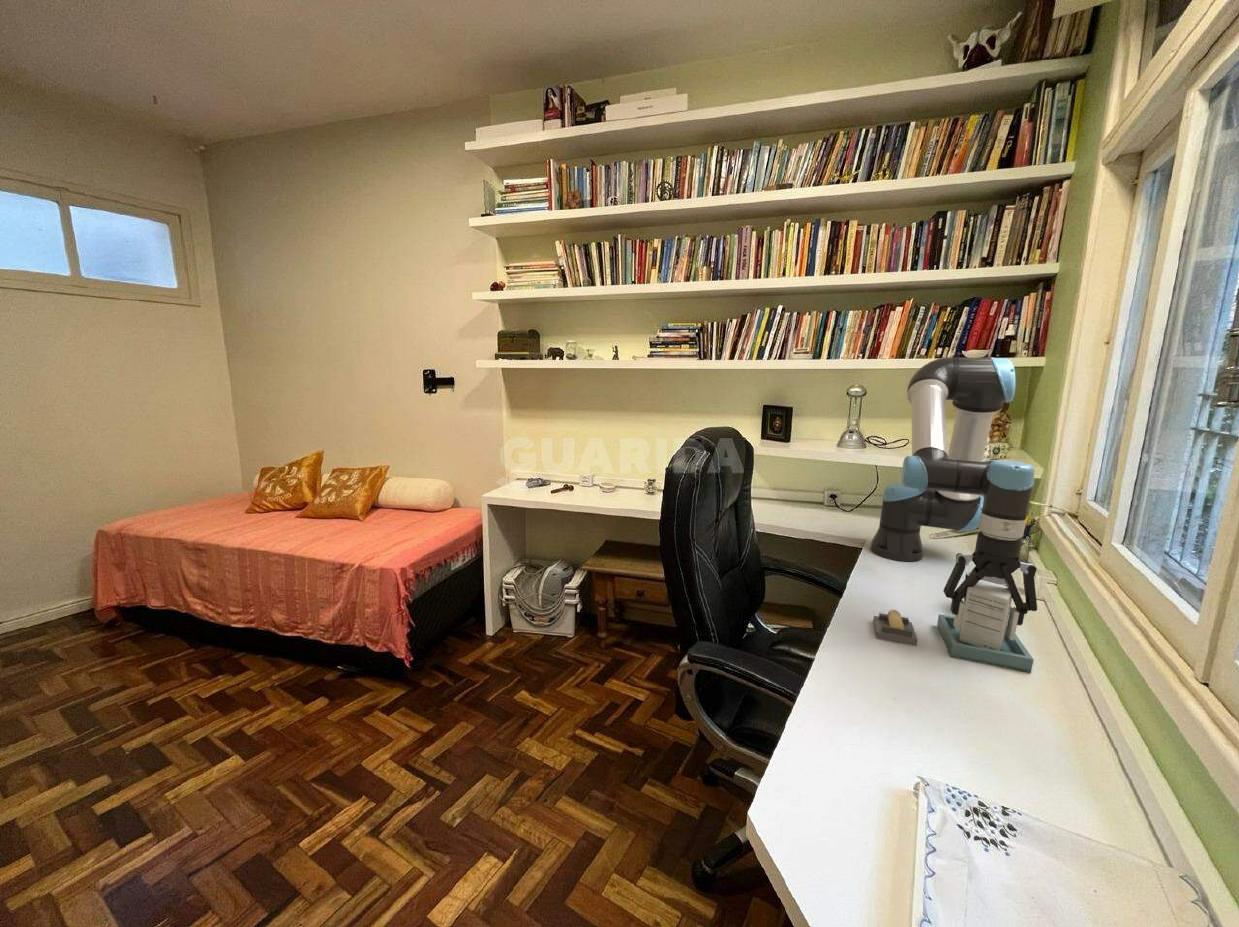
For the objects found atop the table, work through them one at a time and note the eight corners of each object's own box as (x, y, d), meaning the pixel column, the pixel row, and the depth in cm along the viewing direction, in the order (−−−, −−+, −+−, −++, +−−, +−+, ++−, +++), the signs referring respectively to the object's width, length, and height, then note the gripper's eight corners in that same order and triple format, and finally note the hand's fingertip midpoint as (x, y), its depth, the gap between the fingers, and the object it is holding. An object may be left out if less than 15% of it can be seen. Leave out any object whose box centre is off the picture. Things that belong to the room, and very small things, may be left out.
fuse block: (873, 621, 121) (875, 604, 120) (910, 628, 118) (913, 611, 117) (876, 638, 114) (878, 620, 113) (916, 646, 111) (919, 627, 110)
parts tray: (936, 625, 120) (938, 614, 119) (1008, 638, 115) (1010, 626, 114) (950, 657, 107) (952, 644, 106) (1031, 672, 102) (1033, 659, 101)
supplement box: (965, 628, 116) (974, 577, 113) (1004, 641, 110) (1015, 588, 108) (957, 640, 110) (966, 587, 108) (998, 654, 105) (1009, 599, 103)
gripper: (943, 533, 106) (928, 630, 111) (1073, 548, 98) (1051, 652, 103) (936, 522, 113) (922, 614, 117) (1056, 536, 105) (1037, 634, 110)
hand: (982, 632), depth 110 cm, fingers closed on supplement box, 9 cm apart
